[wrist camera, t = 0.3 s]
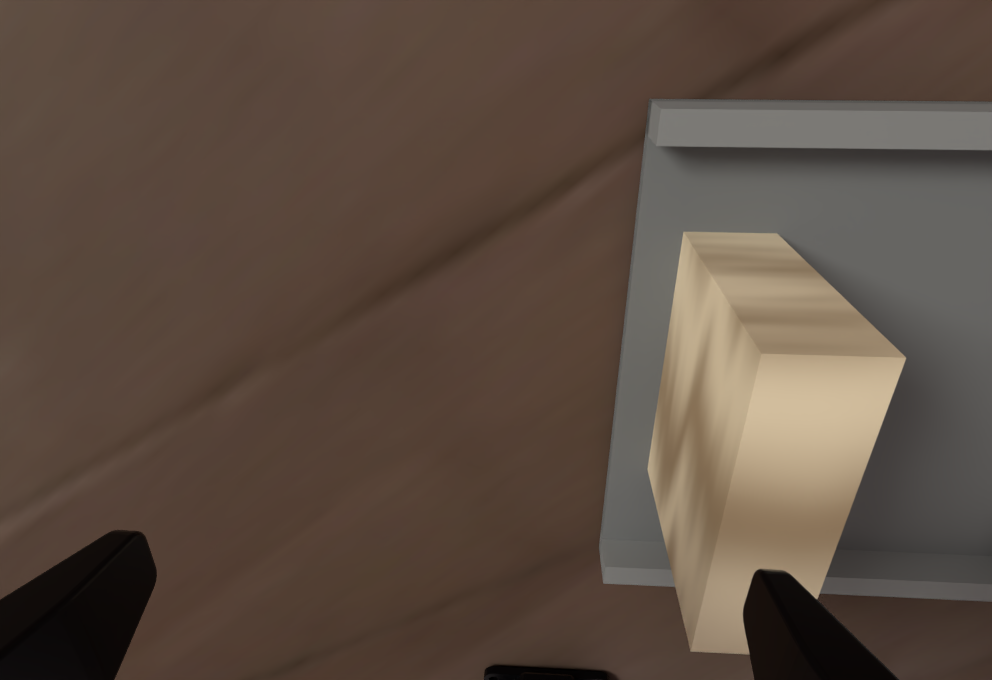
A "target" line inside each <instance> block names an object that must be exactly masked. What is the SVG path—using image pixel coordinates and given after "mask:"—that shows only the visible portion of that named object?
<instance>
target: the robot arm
mask: <svg viewBox="0 0 992 680" xmlns="http://www.w3.org/2000/svg"><path fill="white" fill-rule="evenodd" d="M156 577H157V571H156V566H155V563H154V560H153V557H152V554H151V551H150V548H149V545H148V542H147V539H146V537H145V535H144V534H143V533H141V532H139V531H128V530H115V531H111V532H109V533H107V534H105V535H104V536H102V537H101V538H99V539H97V540H96V541H94V542H93V543H91V544H89V545H88V546H86V547H84V548H83V549H81V550H80V551H78V552H76V553H75V554H73V555H72V556H70V557H68V558H67V559H65V560H63V561H62V562H60V563H59V564H57V565H55V566H54V567H52V568H51V569H49V570H47V571H46V572H44V573H42V574H41V575H39V576H38V577H36V578H34V579H33V580H31V581H30V582H28V583H26V584H25V585H23V586H21V587H20V588H18V589H17V590H15V591H13V592H12V593H10V594H9V595H7V596H5V597H4V598H2V599H0V680H114V679H115V677H116V675H117V672H118V670H119V668H120V666H121V663H122V661H123V659H124V656H125V654H126V652H127V649H128V647H129V645H130V642H131V640H132V638H133V635H134V633H135V631H136V628H137V626H138V624H139V621H140V619H141V617H142V614H143V612H144V610H145V607H146V605H147V603H148V600H149V598H150V596H151V593H152V591H153V589H154V586H155V582H156ZM743 623H744V629H745V634H746V639H747V644H748V649H749V654H750V659H751V664H752V669H753V674H754V679H755V680H899V679H898V678H897V677H896V676H895V675H894V674H893V673H892V672H891V671H890V670H889V669H888V668H887V667H886V666H885V665H884V664H883V663H882V662H880V661H879V660H878V659H877V658H876V657H875V656H874V655H873V654H872V653H871V652H870V651H869V650H868V649H867V648H866V647H865V646H864V645H863V644H862V643H861V642H860V641H859V640H858V639H857V638H856V637H855V636H854V635H853V634H852V633H851V632H850V631H849V630H848V629H847V628H846V627H845V626H843V625H842V624H841V623H840V622H839V621H838V620H837V619H836V618H835V617H834V616H833V615H832V614H831V613H830V612H829V611H828V610H827V609H826V608H825V607H824V606H823V605H822V604H821V603H820V602H819V601H818V600H817V599H816V598H815V597H814V596H813V595H812V594H811V593H810V592H809V591H808V590H806V589H805V588H804V587H803V586H802V585H801V584H800V583H799V582H798V581H797V580H796V579H795V578H794V577H793V576H792V575H791V574H790V573H788V572H786V571H784V570H776V569H758V570H756V571H755V573H754V575H753V577H752V580H751V584H750V587H749V590H748V594H747V597H746V600H745V603H744V607H743ZM484 680H609V676H608V675H607V674H605V673H602V672H589V671H570V670H552V669H533V668H515V667H496V666H492V667H488V668H486V669H485V672H484Z"/></svg>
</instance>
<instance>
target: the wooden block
mask: <svg viewBox="0 0 992 680" xmlns="http://www.w3.org/2000/svg"><path fill="white" fill-rule="evenodd" d="M905 360H906V357H905V356H904V355H903V354H902V353H901V352H900V351H899V350H898V349H897V348H896V347H895V346H894V345H893V344H892V343H890V342H889V341H888V340H887V339H886V338H885V337H884V336H883V335H882V334H881V333H880V332H879V331H878V330H877V329H876V328H875V327H874V326H873V325H872V324H871V323H870V322H869V321H868V320H867V319H866V318H865V317H863V316H862V315H861V314H860V313H859V312H858V311H857V310H856V309H855V308H854V307H853V306H852V305H851V304H850V303H849V302H848V301H847V300H846V299H845V298H844V297H843V296H842V295H841V294H840V293H839V292H838V291H836V290H835V289H834V288H833V287H832V286H831V285H830V284H829V283H828V282H827V281H826V280H825V279H824V278H823V277H822V276H821V275H820V274H819V273H818V272H817V271H816V270H815V269H814V268H813V267H812V266H811V265H809V264H808V263H807V262H806V261H805V260H804V259H803V258H802V257H801V256H800V255H799V254H798V253H797V252H796V251H795V250H794V249H793V248H792V247H791V246H790V245H789V244H788V243H787V242H786V241H785V240H784V239H782V238H781V237H780V236H779V235H778V234H777V233H727V232H683V238H682V245H681V251H680V258H679V265H678V271H677V278H676V284H675V291H674V298H673V304H672V311H671V317H670V324H669V331H668V337H667V344H666V350H665V357H664V364H663V370H662V377H661V383H660V390H659V396H658V403H657V410H656V416H655V423H654V429H653V436H652V443H651V449H650V456H649V462H648V469H647V470H648V474H649V478H650V482H651V487H652V491H653V495H654V499H655V503H656V508H657V512H658V516H659V520H660V524H661V529H662V533H663V537H664V541H665V545H666V550H667V554H668V558H669V562H670V567H671V571H672V575H673V579H674V583H675V588H676V592H677V596H678V600H679V604H680V609H681V613H682V617H683V621H684V625H685V630H686V634H687V638H688V642H689V647H690V651H692V652H712V653H731V654H749V649H748V644H747V639H746V634H745V629H744V623H743V607H744V603H745V600H746V597H747V594H748V590H749V587H750V584H751V580H752V577H753V575H754V573H755V571H756V570H758V569H776V570H784V571H786V572H788V573H790V574H791V575H792V576H793V577H794V578H795V579H796V580H797V581H798V582H799V583H800V584H801V585H802V586H803V587H804V588H805V589H806V590H808V591H809V592H810V593H811V594H812V595H813V596H814V597H815V598H816V599H818V596H819V593H820V591H821V588H822V585H823V582H824V580H825V577H826V574H827V572H828V569H829V566H830V563H831V561H832V558H833V555H834V553H835V550H836V547H837V545H838V542H839V539H840V536H841V534H842V531H843V528H844V526H845V523H846V520H847V517H848V515H849V512H850V509H851V507H852V504H853V501H854V498H855V496H856V493H857V490H858V488H859V485H860V482H861V480H862V477H863V474H864V471H865V469H866V466H867V463H868V461H869V458H870V455H871V452H872V450H873V447H874V444H875V442H876V439H877V436H878V433H879V431H880V428H881V425H882V423H883V420H884V417H885V414H886V412H887V409H888V406H889V404H890V401H891V398H892V396H893V393H894V390H895V387H896V385H897V382H898V379H899V377H900V374H901V371H902V368H903V366H904V363H905Z"/></svg>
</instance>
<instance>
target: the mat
mask: <svg viewBox="0 0 992 680" xmlns="http://www.w3.org/2000/svg"><path fill="white" fill-rule="evenodd" d="M683 232H727V233H777V234H778V235H779V236H780V237H781V238H782V239H784V240H785V241H786V242H787V243H788V244H789V245H790V246H791V247H792V248H793V249H794V250H795V251H796V252H797V253H798V254H799V255H800V256H801V257H802V258H803V259H804V260H805V261H806V262H807V263H808V264H809V265H811V266H812V267H813V268H814V269H815V270H816V271H817V272H818V273H819V274H820V275H821V276H822V277H823V278H824V279H825V280H826V281H827V282H828V283H829V284H830V285H831V286H832V287H833V288H834V289H835V290H836V291H838V292H839V293H840V294H841V295H842V296H843V297H844V298H845V299H846V300H847V301H848V302H849V303H850V304H851V305H852V306H853V307H854V308H855V309H856V310H857V311H858V312H859V313H860V314H861V315H862V316H863V317H865V318H866V319H867V320H868V321H869V322H870V323H871V324H872V325H873V326H874V327H875V328H876V329H877V330H878V331H879V332H880V333H881V334H882V335H883V336H884V337H885V338H886V339H887V340H888V341H889V342H890V343H892V344H893V345H894V346H895V347H896V348H897V349H898V350H899V351H900V352H901V353H902V354H903V355H904V356H905V357H906V360H905V363H904V366H903V368H902V371H901V374H900V377H899V379H898V382H897V385H896V387H895V390H894V393H893V396H892V398H891V401H890V404H889V406H888V409H887V412H886V414H885V417H884V420H883V423H882V425H881V428H880V431H879V433H878V436H877V439H876V442H875V444H874V447H873V450H872V452H871V455H870V458H869V461H868V463H867V466H866V469H865V471H864V474H863V477H862V480H861V482H860V485H859V488H858V490H857V493H856V496H855V498H854V501H853V504H852V507H851V509H850V512H849V515H848V517H847V520H846V523H845V526H844V528H843V531H842V534H841V536H840V539H839V542H838V545H837V547H836V550H835V553H834V555H833V558H832V561H831V563H830V566H829V569H828V572H827V574H826V577H825V580H824V582H823V585H822V588H821V591H820V593H819V594H840V595H861V596H883V597H904V598H925V599H947V600H968V601H989V602H992V102H961V101H840V100H720V99H649V106H648V115H647V124H646V133H645V141H644V150H643V159H642V168H641V177H640V186H639V195H638V204H637V213H636V222H635V231H634V240H633V249H632V257H631V266H630V275H629V284H628V293H627V302H626V311H625V320H624V329H623V338H622V347H621V356H620V364H619V373H618V382H617V391H616V400H615V409H614V418H613V427H612V436H611V445H610V454H609V463H608V471H607V480H606V489H605V498H604V507H603V516H602V525H601V534H600V543H599V551H600V560H601V568H602V577H603V583H606V584H627V585H648V586H670V587H675V583H674V579H673V575H672V571H671V567H670V562H669V558H668V554H667V550H666V545H665V541H664V537H663V533H662V529H661V524H660V520H659V516H658V512H657V508H656V503H655V499H654V495H653V491H652V487H651V482H650V478H649V474H648V470H647V469H648V462H649V456H650V449H651V443H652V436H653V429H654V423H655V416H656V410H657V403H658V396H659V390H660V383H661V377H662V370H663V364H664V357H665V350H666V344H667V337H668V331H669V324H670V317H671V311H672V304H673V298H674V291H675V284H676V278H677V271H678V265H679V258H680V251H681V245H682V238H683Z"/></svg>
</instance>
